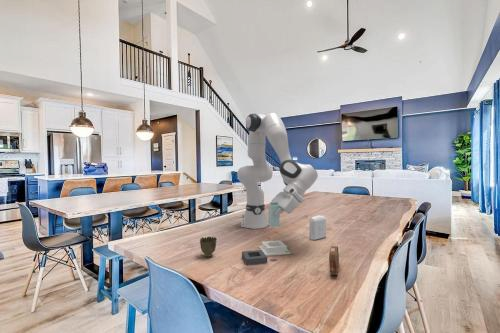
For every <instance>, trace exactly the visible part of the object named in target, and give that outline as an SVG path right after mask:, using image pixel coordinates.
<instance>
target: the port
mask: <svg viewBox="0 0 500 333" xmlns="http://www.w3.org/2000/svg"><path fill="white" fill-rule="evenodd" d="M258 248H259V250H262V251H263V252H264V254H265V255H266V256H267V257H271V256H280V255H291V254H292V253H291V251H290V250H289V249H288V246H287V245H286V244H285V243H284V242H283V241H282V240H280V239H279V240H266V241H261V245H258Z"/></svg>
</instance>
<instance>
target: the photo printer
mask: <svg viewBox="0 0 500 333" xmlns="http://www.w3.org/2000/svg"><path fill="white" fill-rule="evenodd" d="M308 236H309V240H310V241H311V240H312V241H315V240H320V239H325V238H326V237H327V218H326V216H324V215H320V214H318V215H315V216H312V217H310V219H309V234H308Z"/></svg>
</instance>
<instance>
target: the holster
mask: <svg viewBox="0 0 500 333" xmlns="http://www.w3.org/2000/svg"><path fill="white" fill-rule="evenodd" d="M241 258H242V260H243V261H244V264H245V266H253V265H262V264H268V256H266V255H265V254H264V252H263V251H262V250H261V249H255V250H254V249H253V250H243V251H242V252H241Z"/></svg>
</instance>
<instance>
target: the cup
mask: <svg viewBox="0 0 500 333" xmlns="http://www.w3.org/2000/svg"><path fill="white" fill-rule="evenodd" d="M199 239H200V240H199V243H200V250H201V252H202V253H203V256H204V257H205V258H211V257H212V256H213V253H214V252H215V251H216V248H217V247H216V246H217V240H218V238H217V237H216V236H215V237H214V236H207V237H206V236H205V237H200V238H199Z"/></svg>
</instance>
